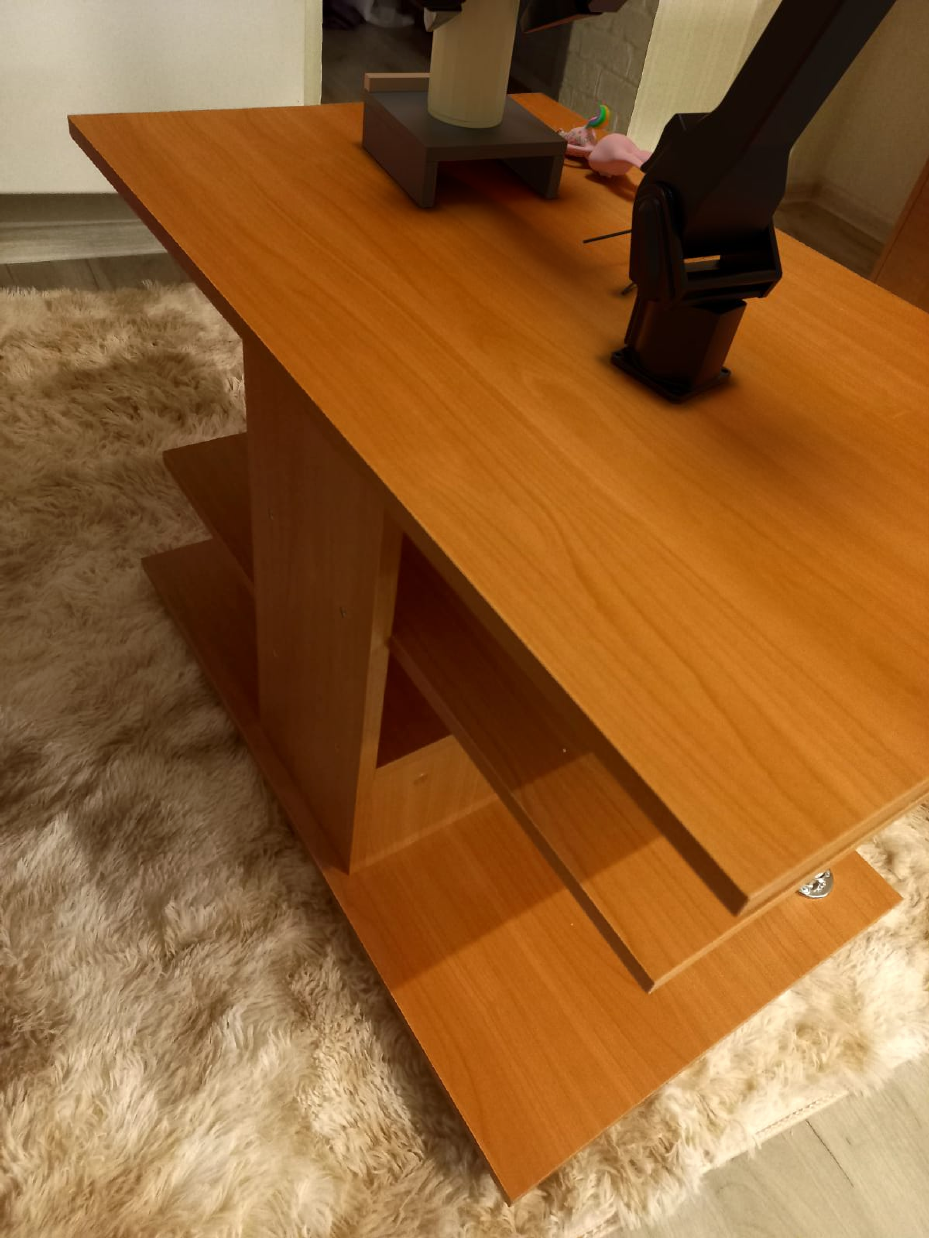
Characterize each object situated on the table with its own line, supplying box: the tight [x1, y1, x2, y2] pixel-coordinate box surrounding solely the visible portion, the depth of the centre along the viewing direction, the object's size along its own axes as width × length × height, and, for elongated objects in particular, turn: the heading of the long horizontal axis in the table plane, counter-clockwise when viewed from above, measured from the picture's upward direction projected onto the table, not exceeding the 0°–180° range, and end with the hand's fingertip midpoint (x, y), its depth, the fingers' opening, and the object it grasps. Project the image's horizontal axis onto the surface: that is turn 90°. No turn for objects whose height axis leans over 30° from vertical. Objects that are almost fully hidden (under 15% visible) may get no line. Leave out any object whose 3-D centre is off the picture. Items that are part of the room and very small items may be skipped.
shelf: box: [361, 72, 568, 209], centre depth 80 cm, size 14×14×6 cm
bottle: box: [427, 0, 521, 128], centre depth 74 cm, size 7×7×14 cm
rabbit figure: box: [553, 104, 653, 179], centre depth 85 cm, size 6×6×15 cm
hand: (476, 26), depth 74 cm, fingers open, 9 cm apart
